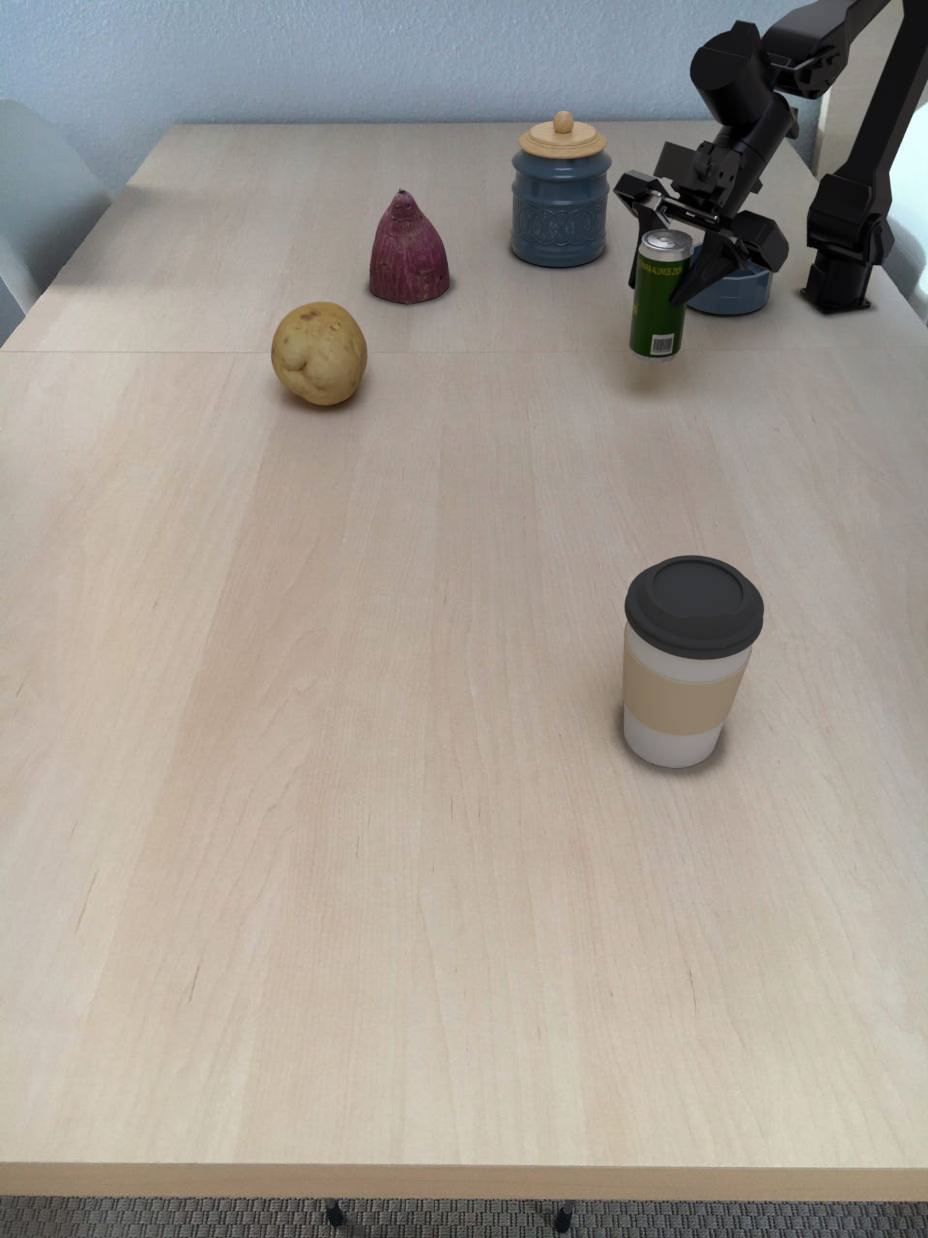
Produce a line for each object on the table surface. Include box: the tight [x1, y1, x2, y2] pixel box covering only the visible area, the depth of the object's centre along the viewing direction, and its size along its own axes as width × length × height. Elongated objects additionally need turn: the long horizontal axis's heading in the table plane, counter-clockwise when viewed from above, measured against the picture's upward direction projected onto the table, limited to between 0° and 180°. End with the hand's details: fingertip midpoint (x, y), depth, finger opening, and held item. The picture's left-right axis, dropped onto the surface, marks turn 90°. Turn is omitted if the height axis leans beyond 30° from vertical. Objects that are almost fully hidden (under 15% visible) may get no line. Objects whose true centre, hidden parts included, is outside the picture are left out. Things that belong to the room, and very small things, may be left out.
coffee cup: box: [622, 554, 765, 769], centre depth 69 cm, size 9×9×15 cm
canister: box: [510, 110, 613, 268], centre depth 130 cm, size 13×13×18 cm
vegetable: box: [368, 187, 451, 305], centre depth 124 cm, size 10×10×15 cm
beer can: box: [628, 228, 694, 364], centre depth 100 cm, size 5×5×12 cm
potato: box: [270, 301, 369, 406], centre depth 107 cm, size 10×12×10 cm
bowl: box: [686, 241, 775, 315], centre depth 123 cm, size 11×11×5 cm
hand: (651, 296), depth 99 cm, fingers closed on beer can, 5 cm apart
